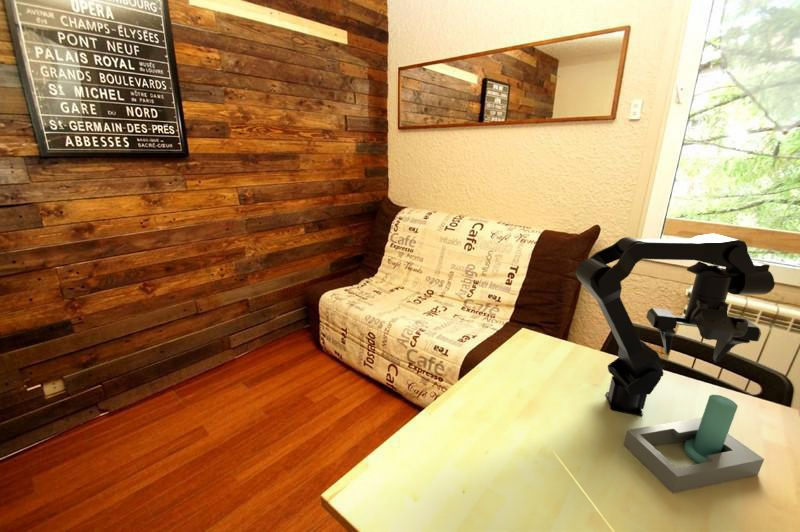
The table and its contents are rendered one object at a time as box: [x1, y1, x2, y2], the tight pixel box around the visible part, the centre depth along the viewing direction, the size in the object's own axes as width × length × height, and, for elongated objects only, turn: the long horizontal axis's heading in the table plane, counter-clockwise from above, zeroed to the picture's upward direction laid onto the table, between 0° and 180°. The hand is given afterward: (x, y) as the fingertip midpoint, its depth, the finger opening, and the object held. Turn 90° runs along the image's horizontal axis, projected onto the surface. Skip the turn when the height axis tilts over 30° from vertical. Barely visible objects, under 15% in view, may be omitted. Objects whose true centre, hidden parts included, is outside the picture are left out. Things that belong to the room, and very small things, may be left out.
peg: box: [683, 394, 738, 464], centre depth 68 cm, size 6×6×13 cm
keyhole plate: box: [623, 416, 765, 494], centre depth 68 cm, size 19×11×4 cm, turn 101°
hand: (690, 357), depth 80 cm, fingers open, 9 cm apart
